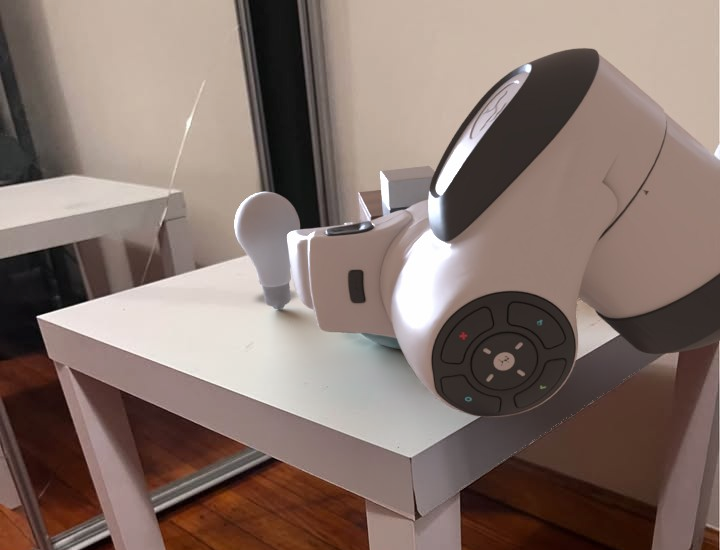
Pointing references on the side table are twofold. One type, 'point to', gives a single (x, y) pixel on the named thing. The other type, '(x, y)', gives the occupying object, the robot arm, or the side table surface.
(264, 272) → the lightbulb
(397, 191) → the two-tone tall pillar
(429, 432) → the side table surface
